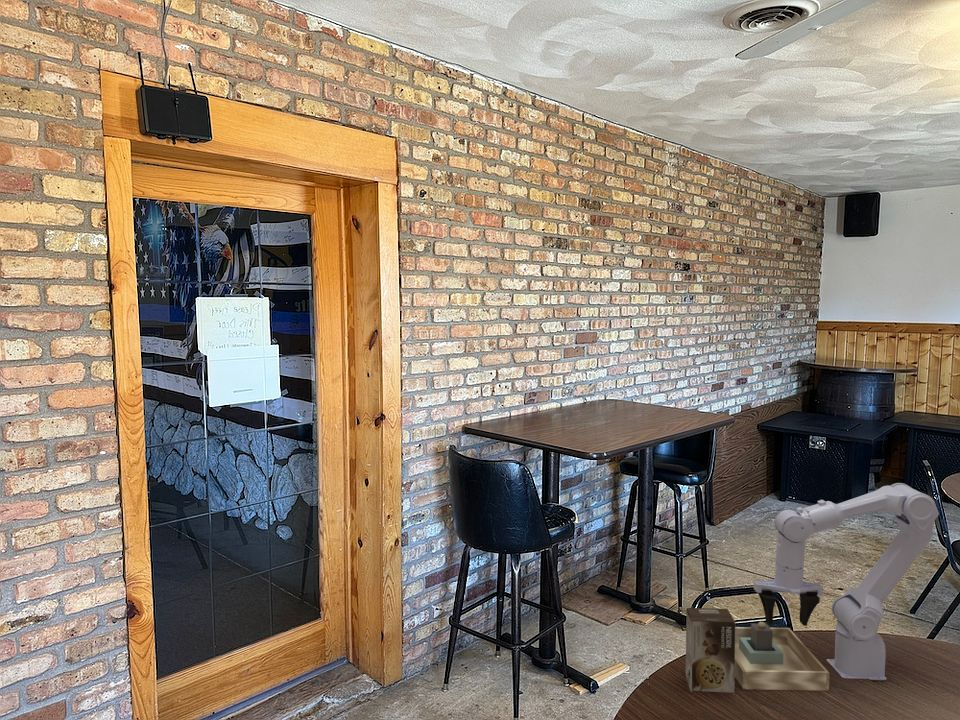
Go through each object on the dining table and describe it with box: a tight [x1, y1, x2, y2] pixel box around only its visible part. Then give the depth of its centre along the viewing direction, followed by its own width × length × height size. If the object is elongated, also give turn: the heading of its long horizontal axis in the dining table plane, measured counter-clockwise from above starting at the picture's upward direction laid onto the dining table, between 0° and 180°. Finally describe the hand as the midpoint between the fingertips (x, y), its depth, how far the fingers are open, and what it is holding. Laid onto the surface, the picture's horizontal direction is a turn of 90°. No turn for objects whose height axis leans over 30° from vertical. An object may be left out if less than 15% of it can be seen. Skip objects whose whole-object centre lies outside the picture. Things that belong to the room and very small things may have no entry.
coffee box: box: [685, 607, 736, 694], centre depth 144 cm, size 9×6×16 cm
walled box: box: [735, 626, 830, 692], centre depth 152 cm, size 18×20×4 cm
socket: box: [739, 637, 784, 664], centre depth 156 cm, size 7×7×2 cm
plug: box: [750, 621, 773, 651], centre depth 155 cm, size 4×4×8 cm
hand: (786, 623), depth 151 cm, fingers open, 7 cm apart
